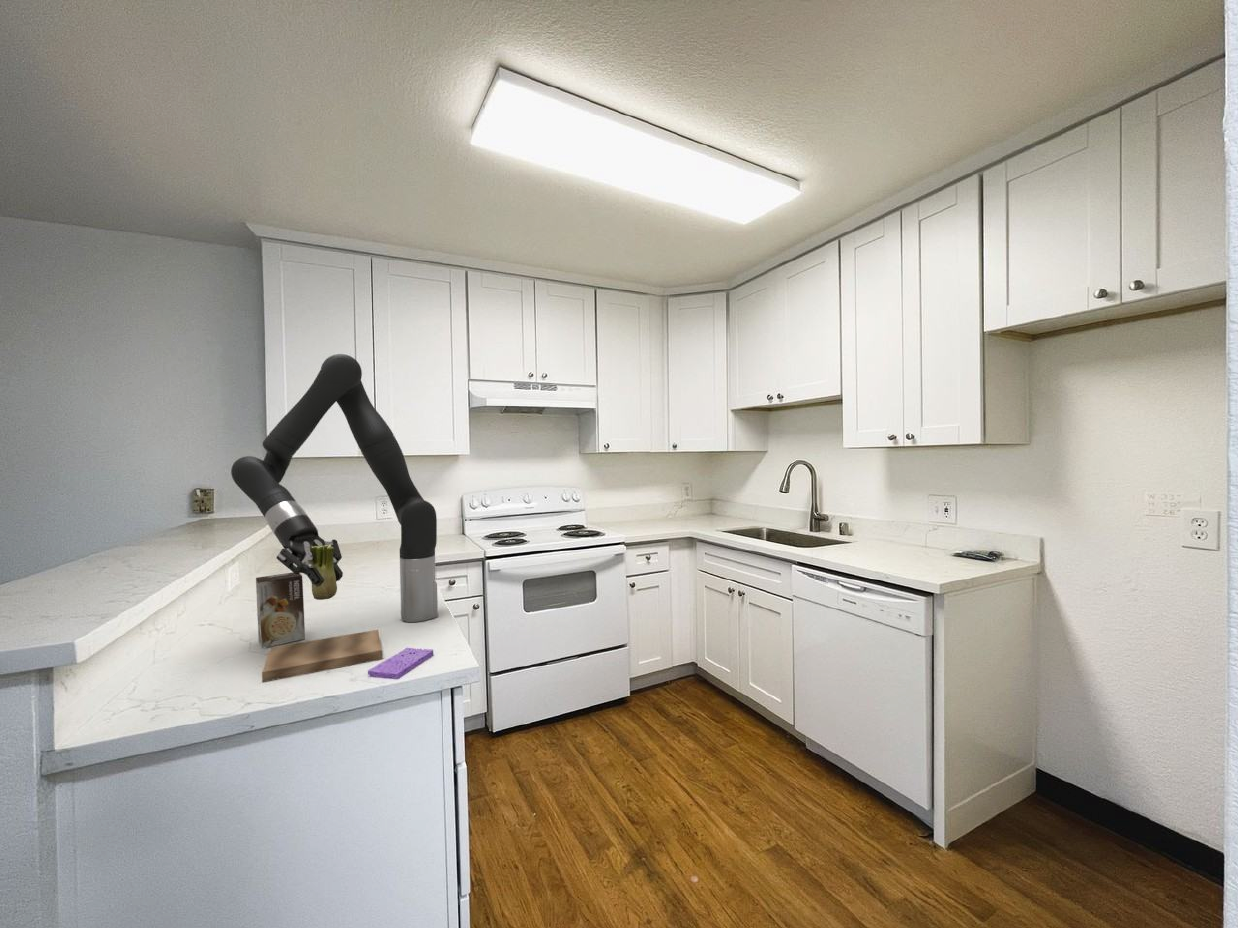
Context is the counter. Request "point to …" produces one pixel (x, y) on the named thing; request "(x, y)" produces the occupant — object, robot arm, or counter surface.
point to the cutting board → (322, 655)
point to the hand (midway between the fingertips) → (330, 580)
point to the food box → (280, 609)
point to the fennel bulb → (324, 572)
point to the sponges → (400, 663)
